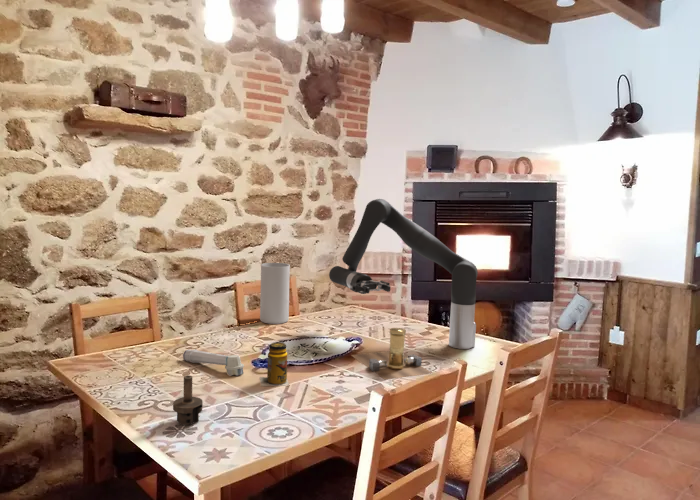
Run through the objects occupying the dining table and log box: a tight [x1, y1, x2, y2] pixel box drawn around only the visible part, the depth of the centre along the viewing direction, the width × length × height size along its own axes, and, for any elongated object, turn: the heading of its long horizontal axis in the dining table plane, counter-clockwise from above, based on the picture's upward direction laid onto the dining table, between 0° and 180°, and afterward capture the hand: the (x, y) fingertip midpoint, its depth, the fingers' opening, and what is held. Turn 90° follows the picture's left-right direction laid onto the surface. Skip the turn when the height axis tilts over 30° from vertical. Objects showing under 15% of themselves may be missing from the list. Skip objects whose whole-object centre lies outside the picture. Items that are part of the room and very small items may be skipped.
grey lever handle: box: [182, 348, 245, 377], centre depth 184 cm, size 5×7×25 cm
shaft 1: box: [368, 359, 387, 373], centre depth 187 cm, size 5×4×3 cm
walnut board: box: [350, 350, 433, 380], centre depth 193 cm, size 18×26×1 cm
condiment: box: [259, 341, 290, 387], centre depth 173 cm, size 7×8×12 cm
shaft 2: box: [404, 354, 423, 367], centre depth 192 cm, size 5×4×3 cm
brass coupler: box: [388, 327, 407, 370], centre depth 189 cm, size 5×5×13 cm
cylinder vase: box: [259, 262, 291, 325], centre depth 246 cm, size 12×12×25 cm
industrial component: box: [172, 374, 204, 426], centre depth 142 cm, size 9×7×12 cm
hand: (378, 289), depth 203 cm, fingers open, 8 cm apart
